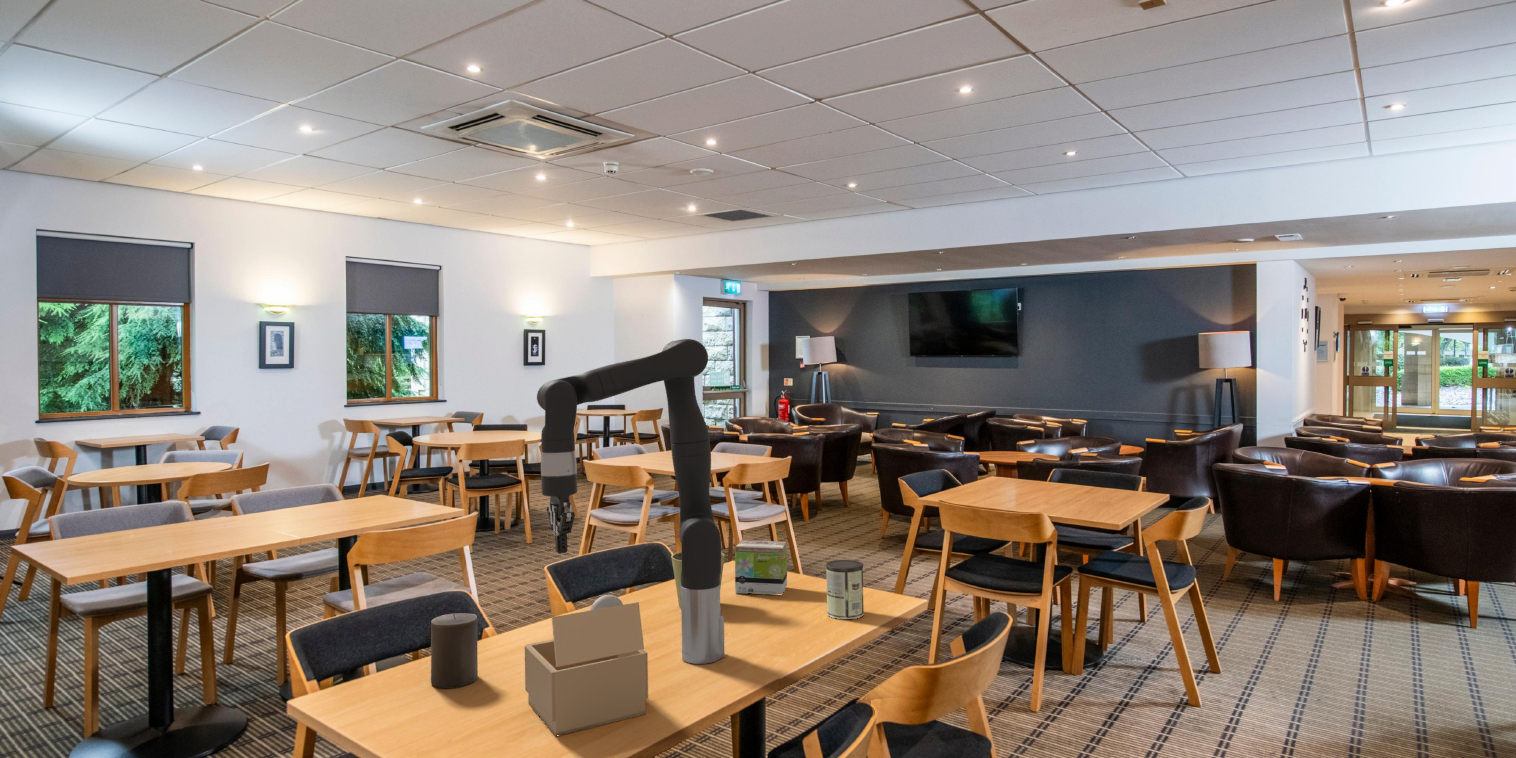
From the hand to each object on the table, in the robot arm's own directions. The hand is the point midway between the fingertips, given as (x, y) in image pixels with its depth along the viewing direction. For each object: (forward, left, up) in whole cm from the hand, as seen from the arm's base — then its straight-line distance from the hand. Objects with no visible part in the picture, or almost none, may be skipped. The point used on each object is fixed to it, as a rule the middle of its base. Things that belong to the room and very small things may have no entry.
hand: (561, 552), depth 174 cm
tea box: (-76, -40, -29) cm, 91 cm away
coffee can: (-82, -6, -29) cm, 87 cm away
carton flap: (0, +23, -12) cm, 25 cm away
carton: (0, +15, -29) cm, 32 cm away
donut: (-21, -28, -29) cm, 46 cm away
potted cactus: (-52, -36, -29) cm, 69 cm away
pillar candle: (+19, -16, -29) cm, 38 cm away
